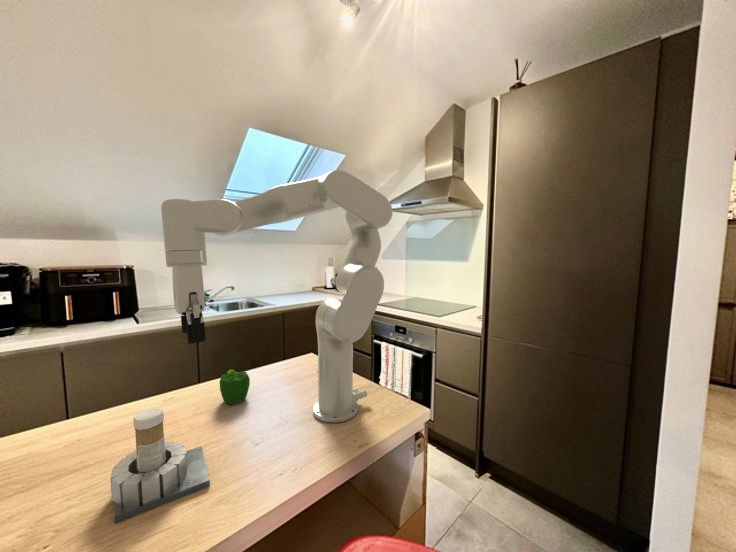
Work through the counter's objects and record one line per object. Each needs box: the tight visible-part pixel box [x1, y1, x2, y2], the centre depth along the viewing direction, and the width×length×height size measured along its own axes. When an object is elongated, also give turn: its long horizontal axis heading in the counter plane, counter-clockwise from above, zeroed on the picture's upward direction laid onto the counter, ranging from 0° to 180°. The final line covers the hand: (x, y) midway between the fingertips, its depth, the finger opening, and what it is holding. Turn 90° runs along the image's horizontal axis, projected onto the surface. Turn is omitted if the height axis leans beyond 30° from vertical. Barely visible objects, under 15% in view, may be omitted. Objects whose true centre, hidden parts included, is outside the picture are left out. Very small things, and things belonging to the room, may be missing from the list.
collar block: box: [110, 441, 211, 524], centre depth 58 cm, size 15×12×5 cm
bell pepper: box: [219, 369, 251, 406], centre depth 90 cm, size 8×8×10 cm
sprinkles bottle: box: [132, 407, 166, 474], centre depth 57 cm, size 5×5×13 cm
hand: (193, 336), depth 67 cm, fingers open, 9 cm apart
